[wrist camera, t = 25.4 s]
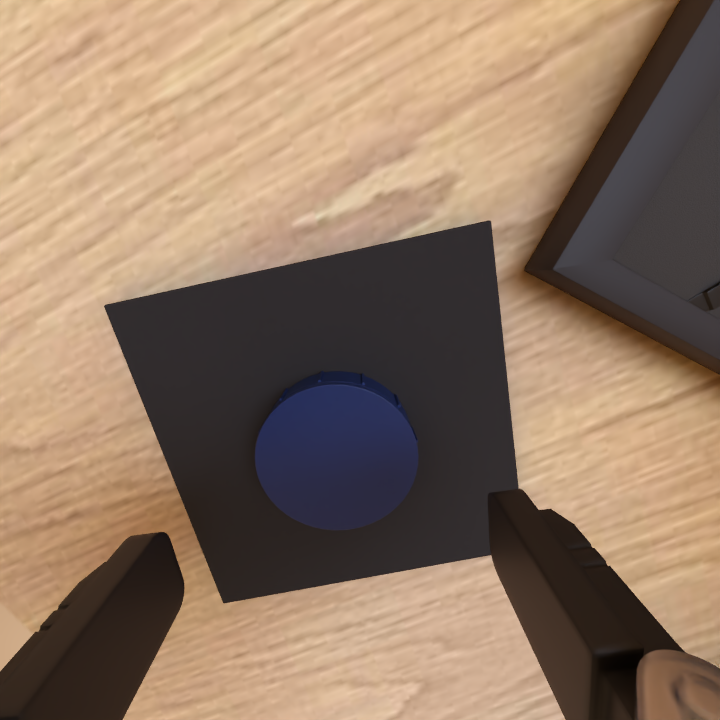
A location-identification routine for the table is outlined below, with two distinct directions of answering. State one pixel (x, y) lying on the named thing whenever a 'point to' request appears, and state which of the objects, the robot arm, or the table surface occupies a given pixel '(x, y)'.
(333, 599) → the table surface
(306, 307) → the mat
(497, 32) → the table surface
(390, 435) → the lid
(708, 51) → the picture frame
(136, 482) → the table surface
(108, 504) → the table surface
